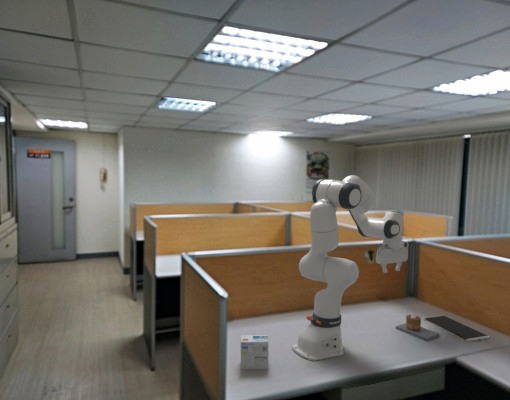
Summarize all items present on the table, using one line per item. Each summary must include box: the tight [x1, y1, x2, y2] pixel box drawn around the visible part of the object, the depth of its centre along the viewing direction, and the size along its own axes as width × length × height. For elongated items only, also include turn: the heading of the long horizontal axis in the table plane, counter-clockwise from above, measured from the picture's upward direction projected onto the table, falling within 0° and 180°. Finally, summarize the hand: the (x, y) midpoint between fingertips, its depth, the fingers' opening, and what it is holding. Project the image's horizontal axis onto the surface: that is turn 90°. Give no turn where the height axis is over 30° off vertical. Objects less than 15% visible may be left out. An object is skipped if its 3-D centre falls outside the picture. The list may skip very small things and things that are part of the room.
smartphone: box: [423, 315, 491, 343], centre depth 173 cm, size 13×27×2 cm, turn 17°
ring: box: [405, 314, 422, 330], centre depth 169 cm, size 6×6×5 cm
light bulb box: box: [240, 334, 269, 370], centre depth 136 cm, size 11×7×11 cm, turn 92°
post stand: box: [395, 314, 440, 342], centre depth 168 cm, size 10×16×7 cm, turn 33°
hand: (391, 271), depth 175 cm, fingers open, 8 cm apart
